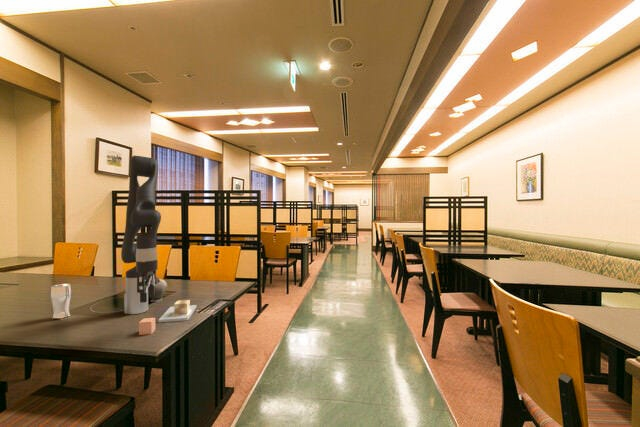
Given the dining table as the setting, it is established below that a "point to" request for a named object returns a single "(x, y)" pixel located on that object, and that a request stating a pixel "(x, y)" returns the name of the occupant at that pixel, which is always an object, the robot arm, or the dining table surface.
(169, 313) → the build board
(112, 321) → the dining table surface
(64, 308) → the beer glass
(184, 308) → the beech block
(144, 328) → the terracotta block
